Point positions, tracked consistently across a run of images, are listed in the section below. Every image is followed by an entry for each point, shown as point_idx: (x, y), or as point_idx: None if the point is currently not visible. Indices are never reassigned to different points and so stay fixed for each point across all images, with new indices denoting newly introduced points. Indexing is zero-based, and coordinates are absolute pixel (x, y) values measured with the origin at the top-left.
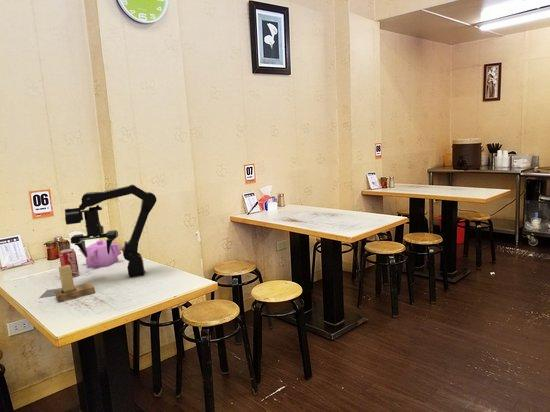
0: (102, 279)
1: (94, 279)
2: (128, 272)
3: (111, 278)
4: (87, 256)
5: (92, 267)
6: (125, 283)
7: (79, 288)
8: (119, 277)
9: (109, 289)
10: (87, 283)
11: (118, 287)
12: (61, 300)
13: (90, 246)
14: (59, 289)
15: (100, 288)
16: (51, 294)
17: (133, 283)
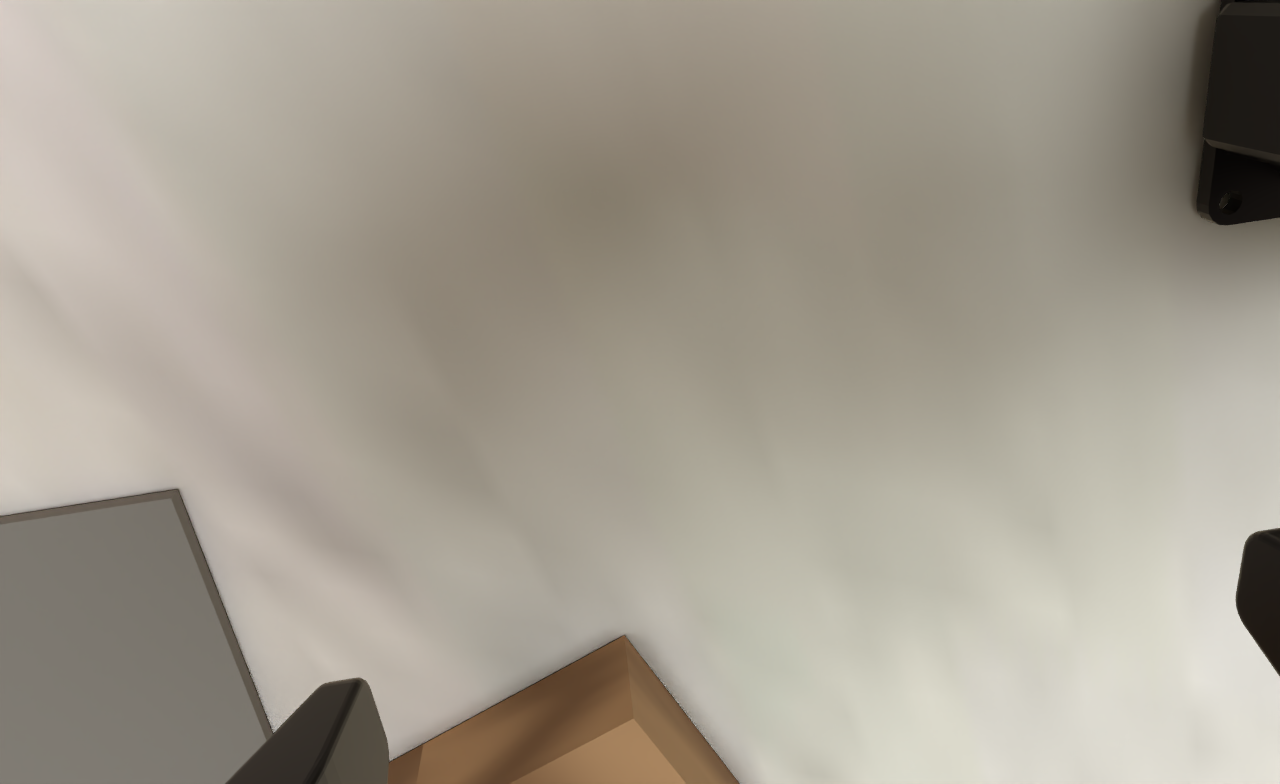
0: (636, 150)
1: (433, 87)
2: (1249, 154)
3: (825, 141)
4: (368, 694)
5: None
6: (1138, 513)
7: None
8: (989, 124)
9: (926, 704)
10: (603, 765)
11: (1047, 656)
12: None
13: None
14: (6, 590)
15: (770, 639)
16: (38, 776)
17: None
